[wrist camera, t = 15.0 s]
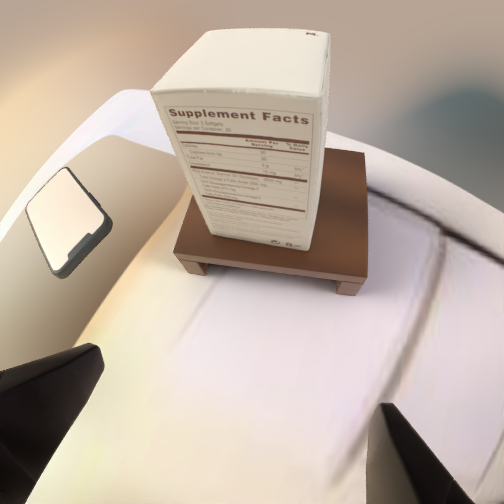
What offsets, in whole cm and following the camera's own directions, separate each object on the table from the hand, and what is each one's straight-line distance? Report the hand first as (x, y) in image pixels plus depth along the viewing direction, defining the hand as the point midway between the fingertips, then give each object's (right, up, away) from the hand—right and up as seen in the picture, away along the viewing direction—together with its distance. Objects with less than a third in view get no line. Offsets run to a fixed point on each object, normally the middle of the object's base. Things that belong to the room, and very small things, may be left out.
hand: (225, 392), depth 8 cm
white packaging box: (+2, +8, +15) cm, 17 cm away
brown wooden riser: (+3, +7, +18) cm, 20 cm away
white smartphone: (-22, +8, +22) cm, 32 cm away
